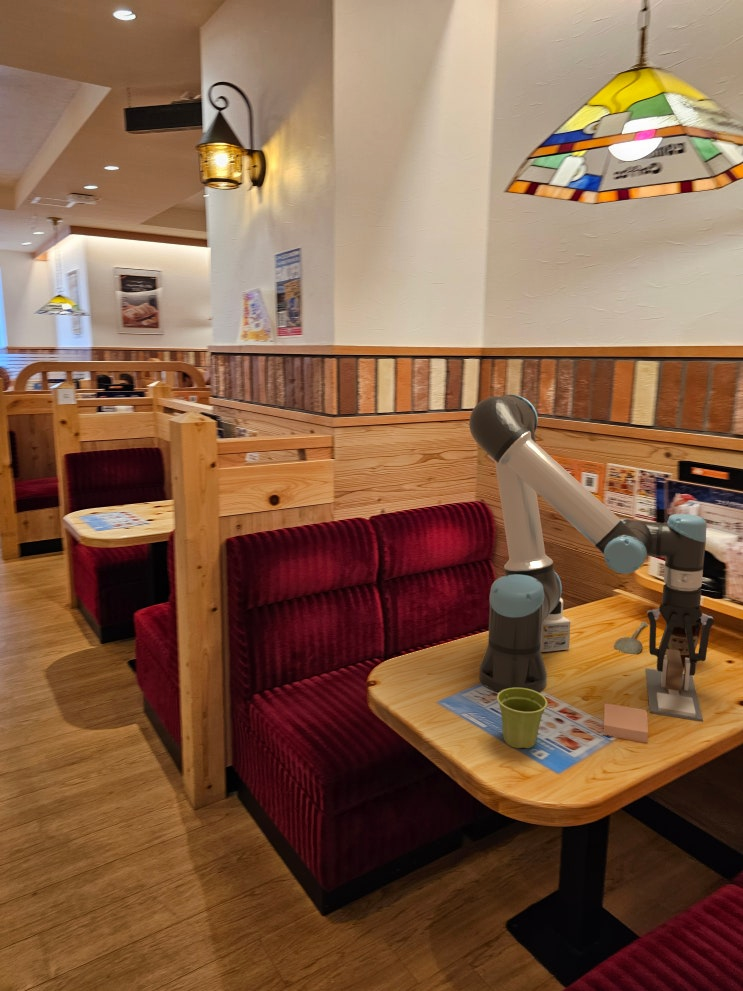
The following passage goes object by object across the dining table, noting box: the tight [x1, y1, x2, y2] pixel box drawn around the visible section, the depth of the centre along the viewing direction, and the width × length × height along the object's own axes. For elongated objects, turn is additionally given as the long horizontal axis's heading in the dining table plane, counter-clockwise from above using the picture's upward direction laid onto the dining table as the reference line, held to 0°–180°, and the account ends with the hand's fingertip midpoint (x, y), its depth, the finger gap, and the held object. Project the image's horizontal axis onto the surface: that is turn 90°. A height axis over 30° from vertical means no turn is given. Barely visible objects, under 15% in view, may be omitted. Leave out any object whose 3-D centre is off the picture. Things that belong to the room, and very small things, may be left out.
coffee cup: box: [667, 618, 703, 669], centre depth 161 cm, size 9×8×13 cm
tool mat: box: [645, 667, 704, 722], centre depth 147 cm, size 10×21×1 cm, turn 160°
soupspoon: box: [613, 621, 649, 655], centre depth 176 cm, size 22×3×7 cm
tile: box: [602, 703, 649, 743], centre depth 133 cm, size 8×2×9 cm
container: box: [540, 597, 571, 653], centre depth 171 cm, size 8×8×13 cm
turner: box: [657, 649, 696, 717], centre depth 146 cm, size 7×20×6 cm, turn 160°
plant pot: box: [496, 688, 548, 749], centre depth 128 cm, size 9×9×9 cm
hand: (674, 685), depth 149 cm, fingers open, 4 cm apart
